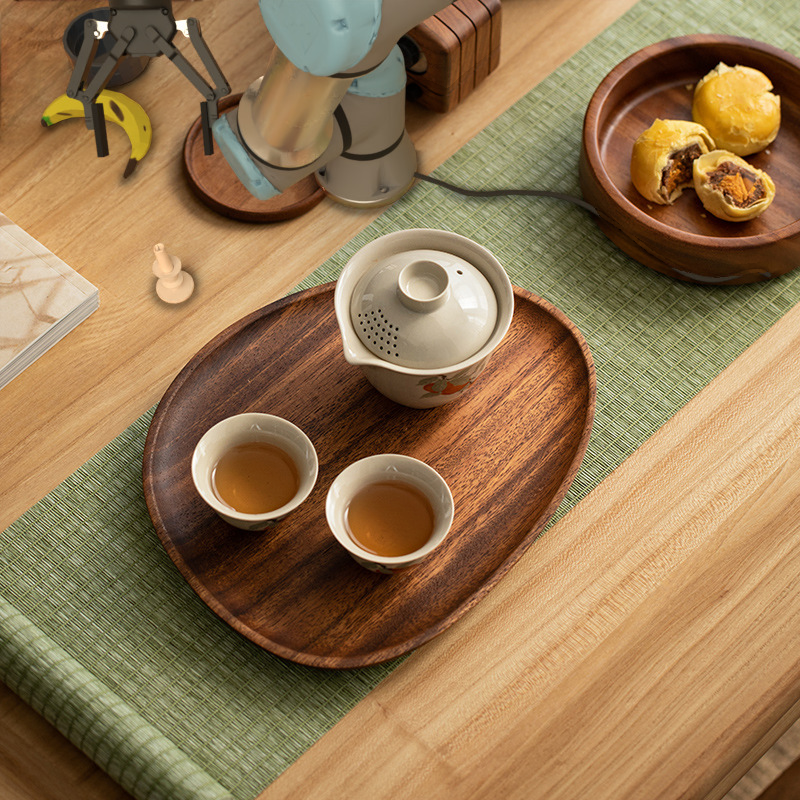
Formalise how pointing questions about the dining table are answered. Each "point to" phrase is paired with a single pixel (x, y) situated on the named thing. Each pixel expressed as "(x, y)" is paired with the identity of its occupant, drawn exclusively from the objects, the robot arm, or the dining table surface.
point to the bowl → (100, 49)
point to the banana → (116, 111)
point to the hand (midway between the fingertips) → (156, 155)
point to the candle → (171, 277)
